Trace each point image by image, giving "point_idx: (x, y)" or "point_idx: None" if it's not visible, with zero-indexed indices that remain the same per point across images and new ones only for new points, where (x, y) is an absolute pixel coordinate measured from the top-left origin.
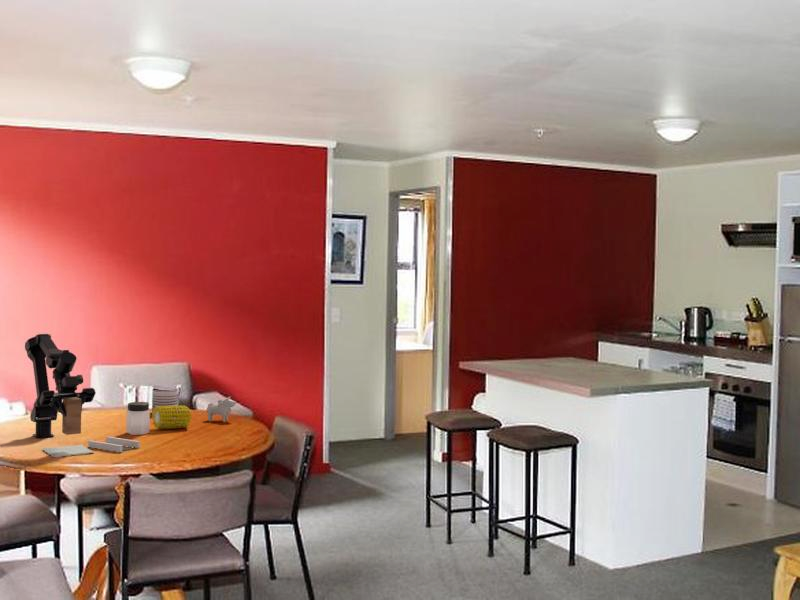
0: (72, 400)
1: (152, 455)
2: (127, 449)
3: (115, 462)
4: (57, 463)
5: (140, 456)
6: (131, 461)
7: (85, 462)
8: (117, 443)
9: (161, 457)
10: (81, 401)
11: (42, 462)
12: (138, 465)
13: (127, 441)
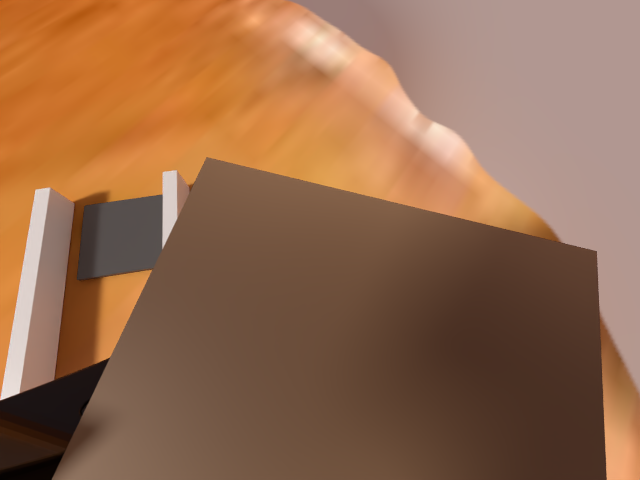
0: (438, 225)
1: (152, 79)
2: (131, 201)
3: (317, 82)
4: (493, 203)
5: (191, 94)
6: (270, 61)
7: (397, 147)
8: (52, 331)
9: (160, 43)
10: (60, 403)
11: None
12: (293, 15)
13: (46, 255)
